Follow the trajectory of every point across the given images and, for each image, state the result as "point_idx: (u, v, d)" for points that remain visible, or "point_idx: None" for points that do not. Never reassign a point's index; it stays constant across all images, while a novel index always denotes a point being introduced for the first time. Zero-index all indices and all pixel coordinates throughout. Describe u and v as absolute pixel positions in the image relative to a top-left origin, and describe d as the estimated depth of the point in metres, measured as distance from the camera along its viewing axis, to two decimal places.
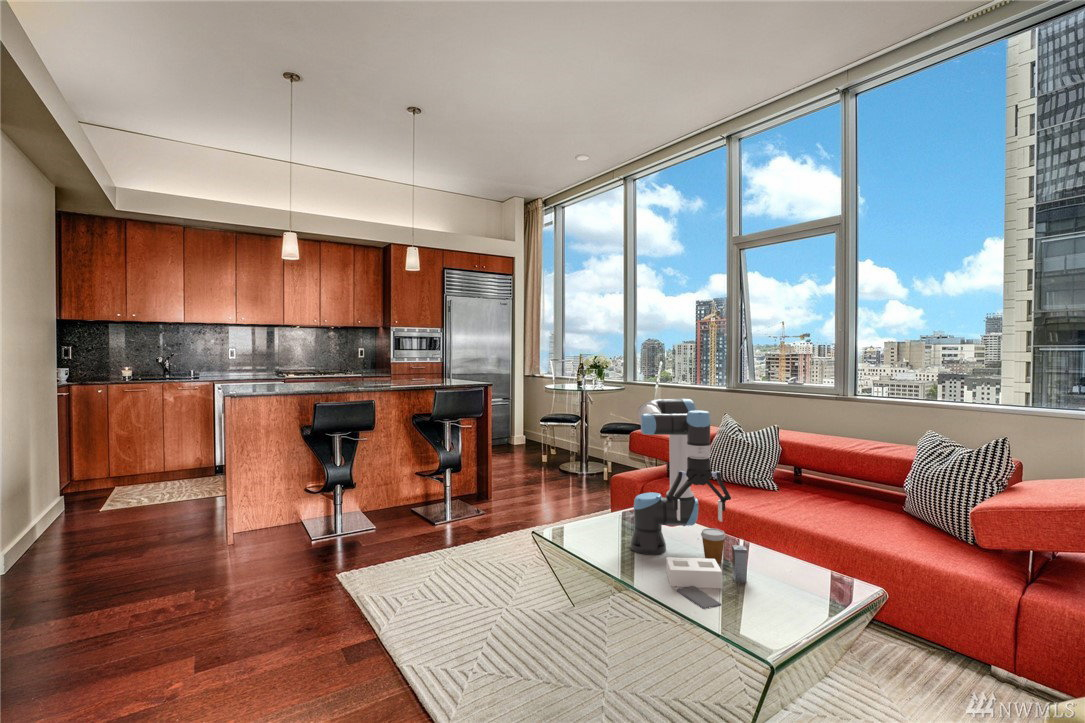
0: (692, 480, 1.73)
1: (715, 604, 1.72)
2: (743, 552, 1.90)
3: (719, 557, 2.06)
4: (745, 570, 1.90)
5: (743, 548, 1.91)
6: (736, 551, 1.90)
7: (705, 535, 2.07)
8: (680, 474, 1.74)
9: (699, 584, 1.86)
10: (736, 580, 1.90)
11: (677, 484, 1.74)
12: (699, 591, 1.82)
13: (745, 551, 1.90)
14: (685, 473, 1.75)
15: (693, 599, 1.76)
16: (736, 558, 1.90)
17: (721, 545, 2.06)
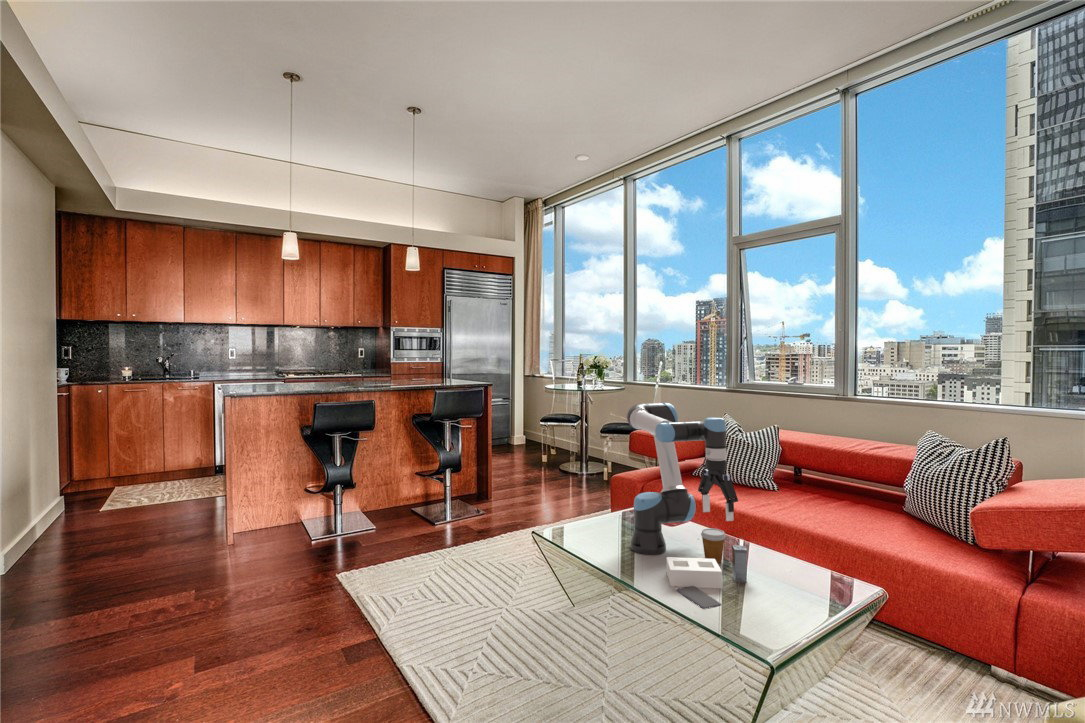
0: (708, 478, 1.97)
1: (715, 604, 1.72)
2: (743, 552, 1.90)
3: (719, 557, 2.06)
4: (745, 570, 1.90)
5: (743, 548, 1.91)
6: (736, 551, 1.90)
7: (705, 535, 2.07)
8: (703, 471, 2.00)
9: (699, 584, 1.86)
10: (736, 580, 1.90)
11: (702, 480, 2.01)
12: (699, 591, 1.82)
13: (745, 551, 1.90)
14: (707, 472, 1.99)
15: (693, 599, 1.76)
16: (736, 558, 1.90)
17: (721, 545, 2.06)
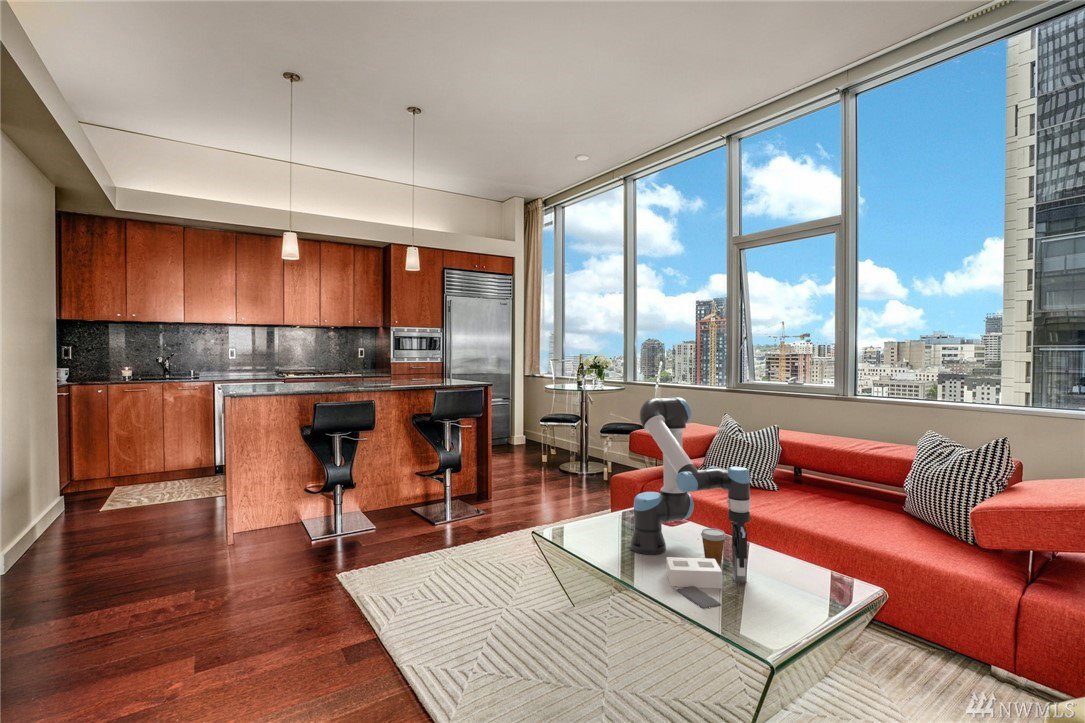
0: (733, 529, 1.94)
1: (715, 604, 1.72)
2: None
3: (719, 557, 2.06)
4: (745, 570, 1.90)
5: None
6: (736, 551, 1.90)
7: (705, 535, 2.07)
8: None
9: (699, 584, 1.86)
10: (736, 580, 1.90)
11: (732, 533, 1.97)
12: (699, 591, 1.82)
13: None
14: None
15: (693, 599, 1.76)
16: (736, 558, 1.90)
17: (721, 545, 2.06)
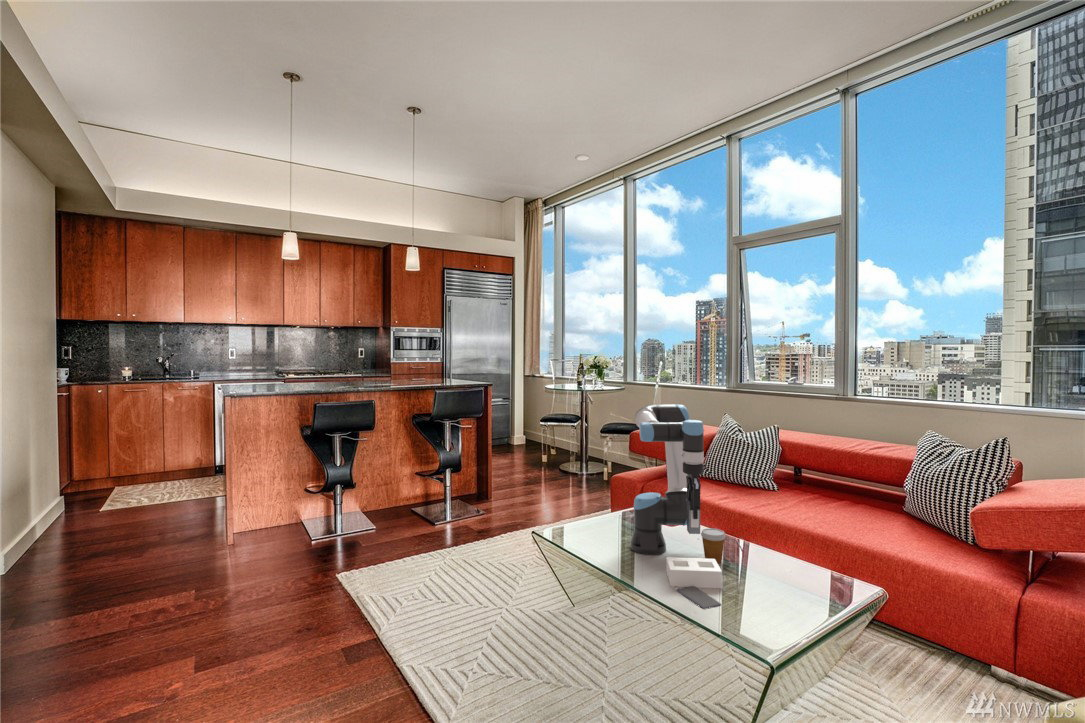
0: (687, 482, 1.94)
1: (715, 604, 1.72)
2: None
3: (719, 557, 2.06)
4: (699, 522, 1.91)
5: None
6: (690, 503, 1.90)
7: (705, 535, 2.07)
8: (686, 477, 1.98)
9: (699, 584, 1.86)
10: (690, 532, 1.91)
11: (687, 487, 1.98)
12: (699, 591, 1.82)
13: None
14: None
15: (693, 599, 1.76)
16: (690, 510, 1.91)
17: (721, 545, 2.06)
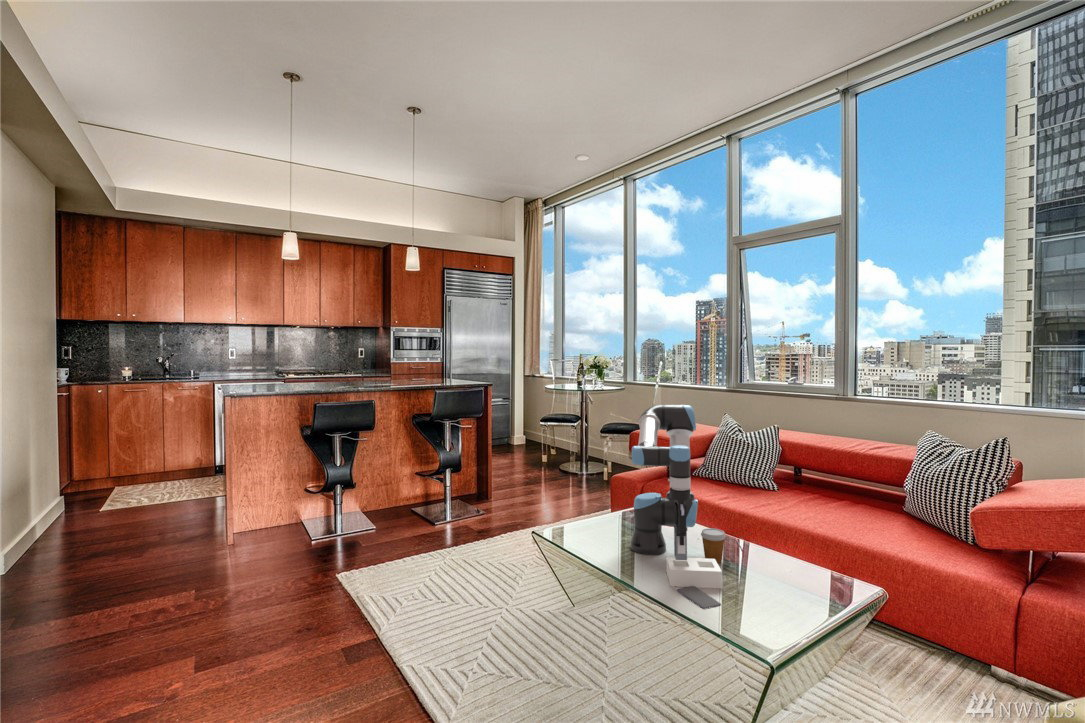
0: (674, 508, 1.94)
1: (715, 604, 1.72)
2: None
3: (719, 557, 2.06)
4: (685, 548, 1.90)
5: None
6: (676, 529, 1.90)
7: (705, 535, 2.07)
8: (674, 503, 1.98)
9: (699, 584, 1.86)
10: (676, 558, 1.91)
11: None
12: (699, 591, 1.82)
13: None
14: None
15: (693, 599, 1.76)
16: None
17: (721, 545, 2.06)
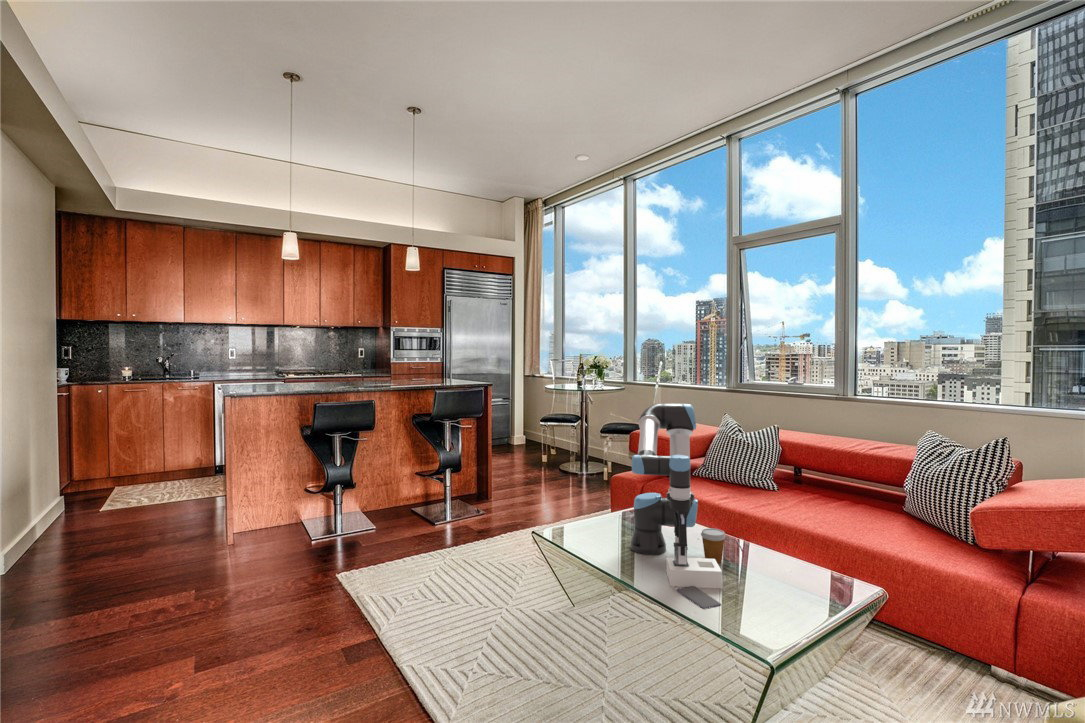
0: None
1: (715, 604, 1.72)
2: None
3: (719, 557, 2.06)
4: None
5: None
6: (677, 548, 1.91)
7: (705, 535, 2.07)
8: (674, 510, 1.99)
9: (699, 584, 1.86)
10: None
11: None
12: (699, 591, 1.82)
13: None
14: None
15: (693, 599, 1.76)
16: (677, 555, 1.91)
17: (721, 545, 2.06)
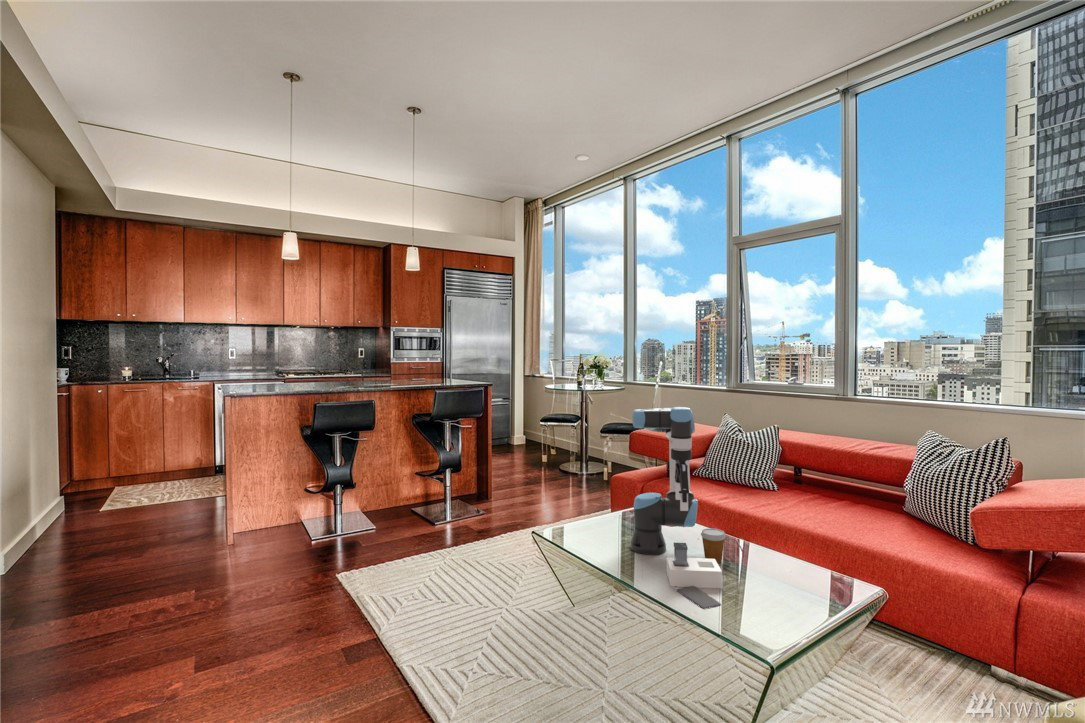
0: None
1: (715, 604, 1.72)
2: (683, 549, 1.90)
3: (719, 557, 2.06)
4: None
5: (684, 545, 1.92)
6: (677, 548, 1.91)
7: (705, 535, 2.07)
8: (675, 460, 2.01)
9: (699, 584, 1.86)
10: None
11: (675, 468, 2.02)
12: (699, 591, 1.82)
13: (685, 548, 1.90)
14: None
15: (693, 599, 1.76)
16: (677, 555, 1.91)
17: (721, 545, 2.06)
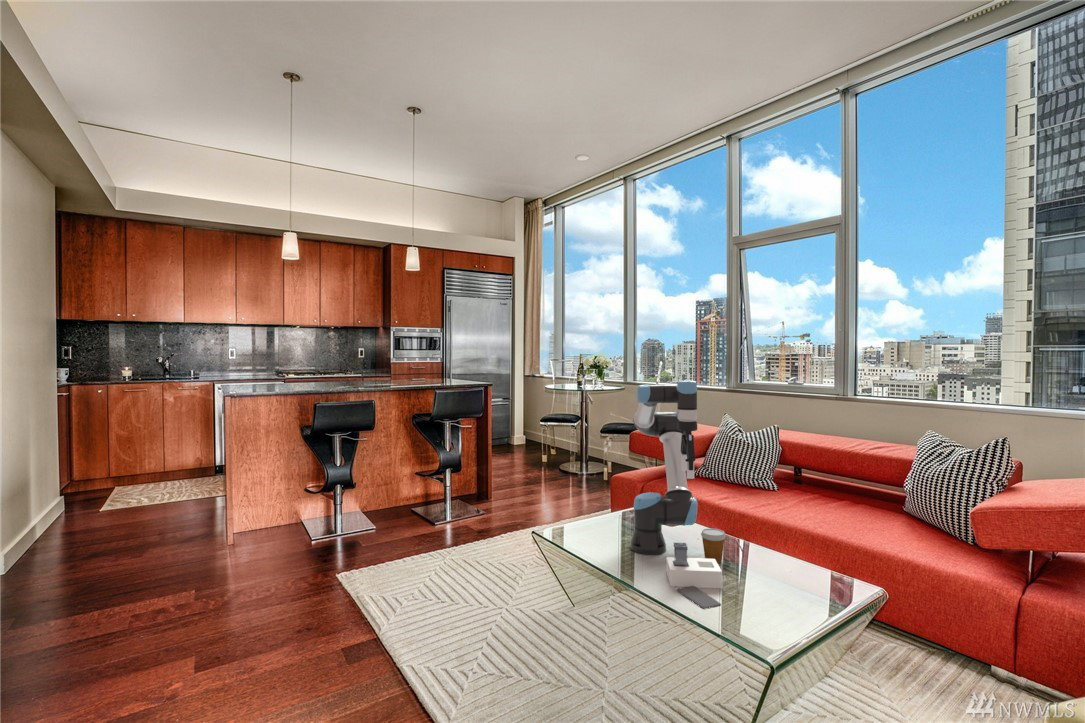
0: (682, 438, 2.05)
1: (715, 604, 1.72)
2: (683, 549, 1.90)
3: (719, 557, 2.06)
4: None
5: (684, 545, 1.92)
6: (677, 548, 1.91)
7: (705, 535, 2.07)
8: (681, 432, 2.09)
9: (699, 584, 1.86)
10: None
11: (681, 440, 2.10)
12: (699, 591, 1.82)
13: (685, 548, 1.90)
14: None
15: (693, 599, 1.76)
16: (677, 555, 1.91)
17: (721, 545, 2.06)
